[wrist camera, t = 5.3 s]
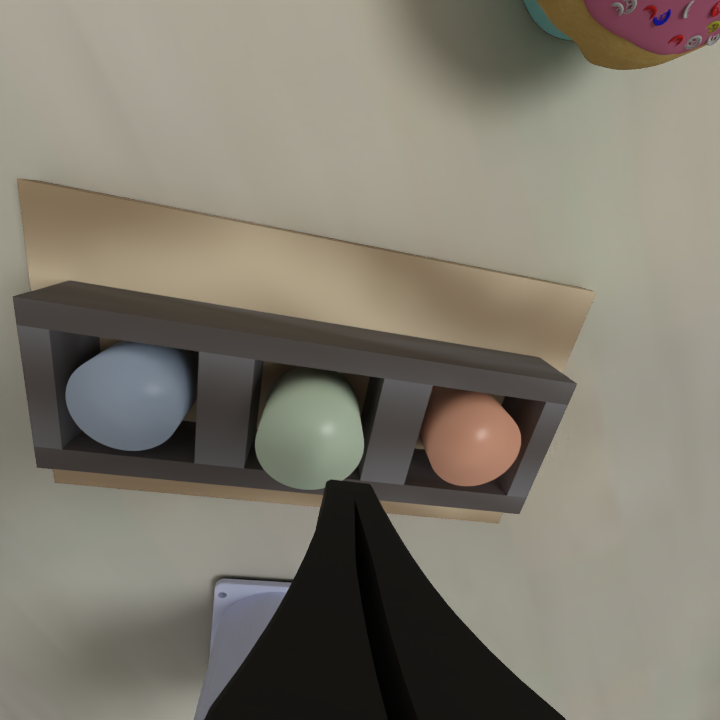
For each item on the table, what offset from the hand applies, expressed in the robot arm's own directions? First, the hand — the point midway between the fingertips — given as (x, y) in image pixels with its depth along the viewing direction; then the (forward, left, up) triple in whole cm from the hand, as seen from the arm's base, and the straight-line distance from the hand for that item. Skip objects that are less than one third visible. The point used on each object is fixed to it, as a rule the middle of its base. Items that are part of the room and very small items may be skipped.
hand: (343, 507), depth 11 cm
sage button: (0, +1, -6) cm, 6 cm away
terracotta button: (0, -6, -7) cm, 9 cm away
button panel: (0, +1, -8) cm, 8 cm away
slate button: (0, +8, -7) cm, 11 cm away
